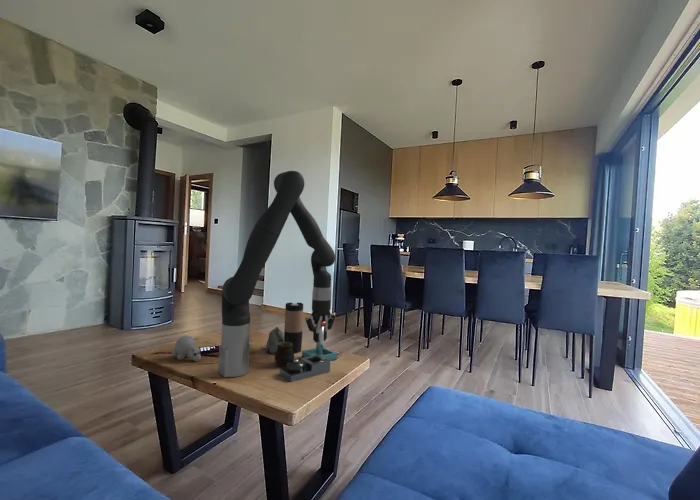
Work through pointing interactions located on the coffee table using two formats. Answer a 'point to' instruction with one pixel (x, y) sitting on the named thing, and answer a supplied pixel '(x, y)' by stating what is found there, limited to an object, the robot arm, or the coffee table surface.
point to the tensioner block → (305, 368)
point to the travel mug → (294, 325)
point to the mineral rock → (274, 340)
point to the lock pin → (320, 339)
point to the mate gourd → (284, 353)
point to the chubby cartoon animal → (186, 348)
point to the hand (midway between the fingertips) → (320, 340)
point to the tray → (326, 354)
